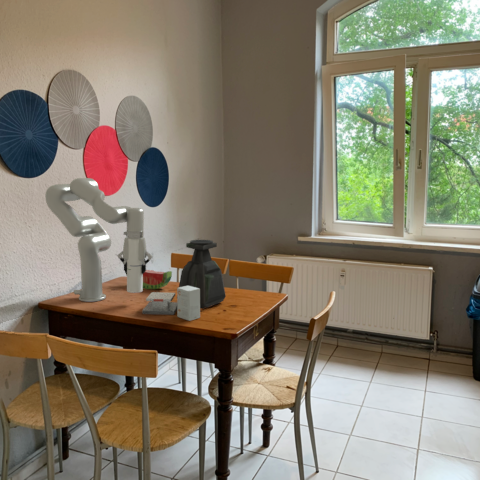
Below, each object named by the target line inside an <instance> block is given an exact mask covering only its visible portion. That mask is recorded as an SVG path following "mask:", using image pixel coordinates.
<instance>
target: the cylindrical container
mask: <svg viewBox="0 0 480 480" xmlns="http://www.w3.org/2000/svg"><path fill="white" fill-rule="evenodd" d="M128 244H129V259H128V260H127V275H126V291H127V293H131V294H136V293H137V294H138V293H142V292H143V291H144V290H143V289H144V288H143V274H142V262H141V260H138V245H139V239H128Z"/></svg>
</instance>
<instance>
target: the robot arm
mask: <svg viewBox="0 0 480 480" xmlns="http://www.w3.org/2000/svg"><path fill="white" fill-rule="evenodd" d="M94 179H95V178H94ZM94 179H93V178H91V177H79V178H75V179H73V180H72V181H71V182H70V183H60V184H59V183H58V184H53V185H50V186H49V187H48V188H47V189H46V191H45V202H46V205H47V207H48V208H49V210H50V211H51V212H52V214H54V215H55V216H56V218H57V219H58V220H59V221H60V223H61V224H62V225H63V227H65V229H66V230H67V232H68V233H69V234H70V235H71V236H72V237H74V238H79V240H78V241H77V250H78V254H79V258H80V274H81V276H80V277H81V278H80V279H81V289H74V290H73V294H74V295H75V296H76V295H79V296H78V300H79V301H81V302H86V303H87V302H91V303H92V302H99V301H103V300H105V299H106V298H107V295H106V294H105V293H103V275H102V274H103V272H102V269H103V268H102V265H103V264H102V259H101V257H100V255H99V253H101V252H105V251H107V250H109V249H110V248H111V246H112V239H111V237H110V235H109V234H108V232H107V231H106V230H105V228H104V227H103V226H102V224H101V223H99V221H98V220H97V219H96V218H94V217H93V216H90V215H86V216H82V215H80V214H78V212H77V211H76V210H75V209H74V208H73V206H71V205H70V204H68V203H67V202H74V201H79V200H82V201H83V202H85V203H87V204H88V205H90V206H91V207H92V210H93V211H94V213H95V215H96V216H97V217H98V218H100V219H102V220H103V221H105V222H106V223H109V224H112V225H115V224H122V223H123V224H124V223H126V231H123V235H124V236H125V237H124V239H123V240H124V242H123V245H122V246H123V250H122V251H121V252H120V253H118V254H117V255H116V256H117V258H118V259H119V261H120V262H121V263H122V264H123V271H124V273H125V274H126V273H127V260H128V259H129V244H128V239H139V245H138V260H141V262H142V274H143V273H145V271H146V270H147V264H148V263H150V261H151V260H152V259H153V257H154V256H153V255H152V254H150V253H149V252H148V251H147V243H146V238H145V237H144V229H145V228H144V219H145V217H144V216H145V215H144V209H143V208H140V207H131V206H126V205H123V206H122V205H121V206H111V205H109V204H108V203H107V202H105V197H106V196H105V193H104V191H103V190H101V189H100V188H99V184H98V182H97V181H96V180H94ZM146 258H147V259H146Z"/></svg>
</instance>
